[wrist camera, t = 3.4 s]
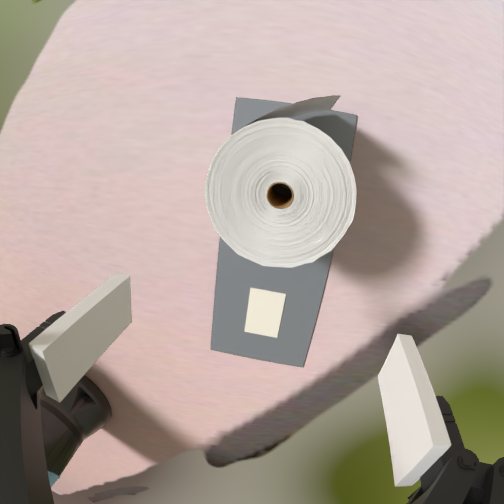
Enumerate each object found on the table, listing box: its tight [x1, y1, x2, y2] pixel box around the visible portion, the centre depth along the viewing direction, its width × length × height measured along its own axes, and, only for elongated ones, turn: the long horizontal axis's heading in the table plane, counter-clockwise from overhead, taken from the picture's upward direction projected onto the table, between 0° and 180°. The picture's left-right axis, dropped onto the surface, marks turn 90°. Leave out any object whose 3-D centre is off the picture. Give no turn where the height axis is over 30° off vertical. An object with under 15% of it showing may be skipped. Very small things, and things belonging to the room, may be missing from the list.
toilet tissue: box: [205, 96, 357, 268], centre depth 26 cm, size 11×12×10 cm
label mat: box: [211, 97, 357, 367], centre depth 33 cm, size 30×12×1 cm, turn 172°
